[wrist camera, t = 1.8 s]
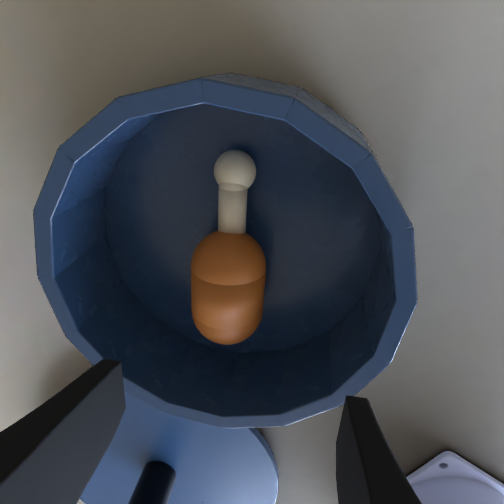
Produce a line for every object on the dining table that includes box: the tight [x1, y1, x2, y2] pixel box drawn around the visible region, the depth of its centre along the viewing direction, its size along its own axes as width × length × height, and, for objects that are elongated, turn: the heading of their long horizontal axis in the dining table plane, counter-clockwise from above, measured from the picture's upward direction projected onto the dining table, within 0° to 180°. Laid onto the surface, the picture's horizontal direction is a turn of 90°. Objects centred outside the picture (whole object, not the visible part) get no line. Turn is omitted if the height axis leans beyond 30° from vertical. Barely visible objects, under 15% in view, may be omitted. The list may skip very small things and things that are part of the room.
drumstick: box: [191, 150, 266, 345], centre depth 19 cm, size 10×4×4 cm, turn 177°
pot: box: [33, 73, 418, 428], centre depth 19 cm, size 16×16×5 cm
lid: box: [80, 391, 279, 504], centre depth 28 cm, size 17×17×5 cm
